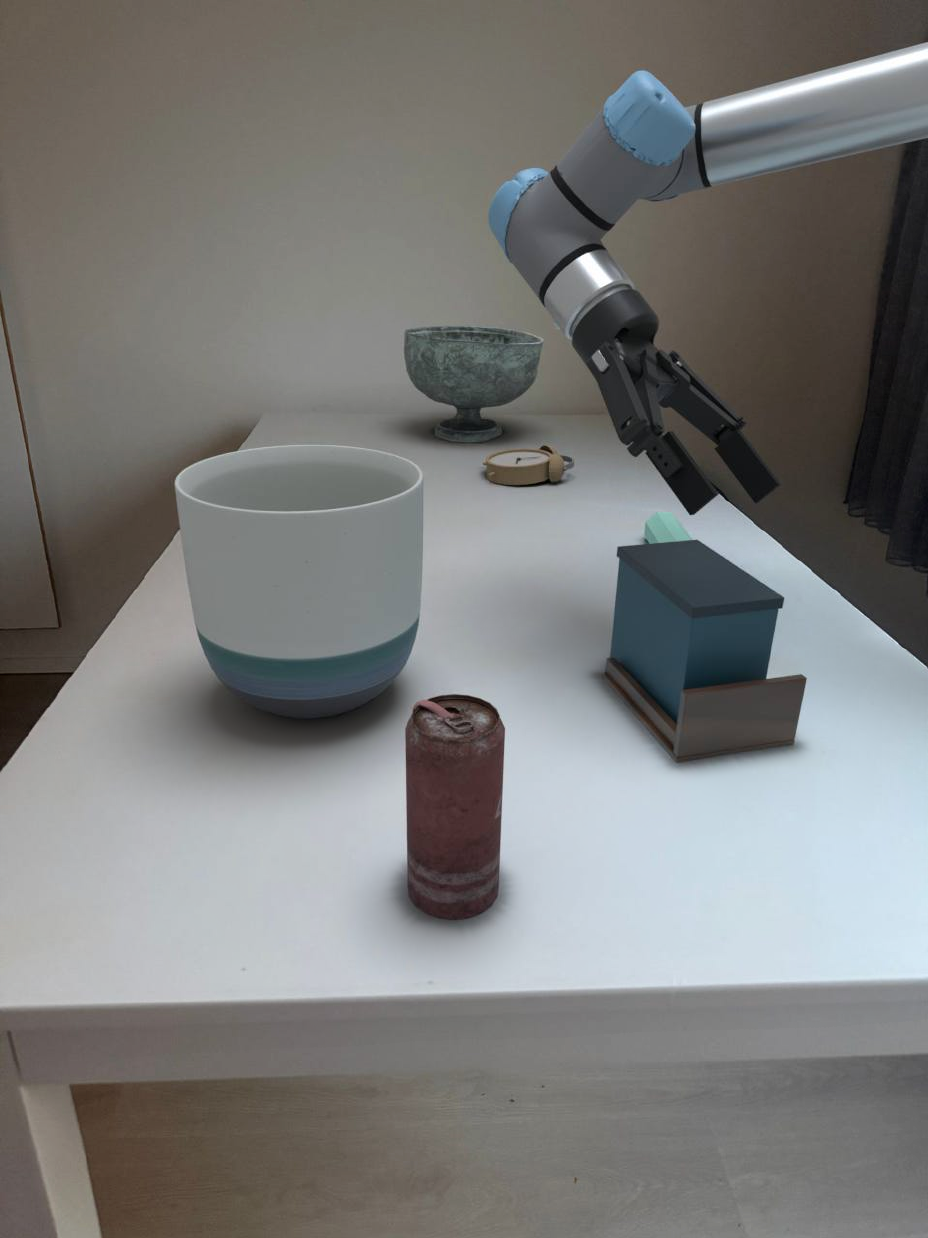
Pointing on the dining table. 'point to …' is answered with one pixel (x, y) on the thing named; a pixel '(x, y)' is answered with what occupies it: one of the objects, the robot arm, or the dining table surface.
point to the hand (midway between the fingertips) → (738, 499)
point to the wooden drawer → (716, 714)
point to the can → (454, 805)
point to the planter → (304, 572)
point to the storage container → (689, 620)
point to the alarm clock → (526, 466)
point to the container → (664, 529)
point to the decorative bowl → (471, 373)
